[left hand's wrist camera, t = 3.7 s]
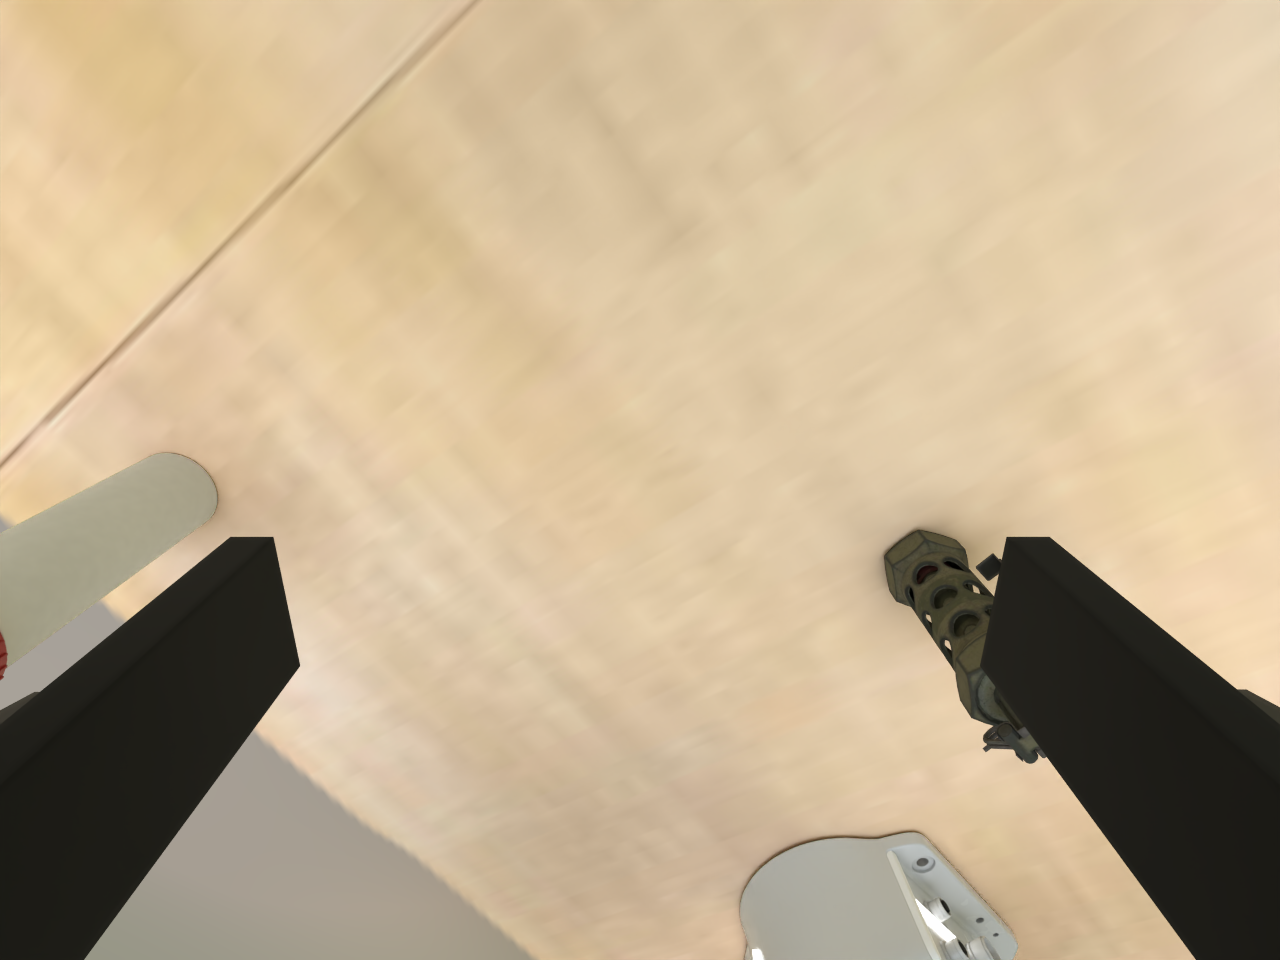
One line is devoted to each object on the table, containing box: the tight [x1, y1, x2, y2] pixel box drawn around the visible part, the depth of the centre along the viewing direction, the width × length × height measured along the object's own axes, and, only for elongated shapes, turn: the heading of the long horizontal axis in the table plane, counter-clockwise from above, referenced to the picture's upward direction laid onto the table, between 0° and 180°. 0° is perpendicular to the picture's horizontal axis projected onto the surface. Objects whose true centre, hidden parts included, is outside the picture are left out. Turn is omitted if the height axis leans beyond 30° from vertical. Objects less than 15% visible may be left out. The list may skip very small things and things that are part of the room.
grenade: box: [885, 530, 1047, 764], centre depth 37 cm, size 9×6×15 cm, turn 134°
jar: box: [0, 453, 218, 667], centre depth 35 cm, size 5×5×17 cm
